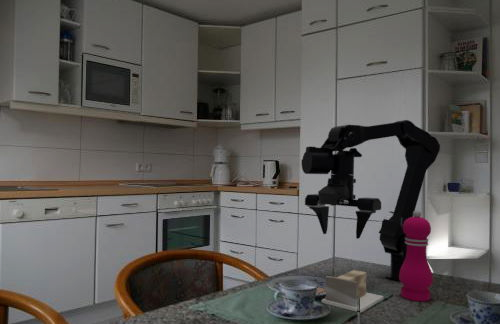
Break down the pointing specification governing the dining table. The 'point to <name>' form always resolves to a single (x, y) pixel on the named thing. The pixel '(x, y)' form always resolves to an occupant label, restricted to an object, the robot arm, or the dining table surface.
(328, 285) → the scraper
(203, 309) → the dining table surface
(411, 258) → the pepper mill
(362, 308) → the mat
